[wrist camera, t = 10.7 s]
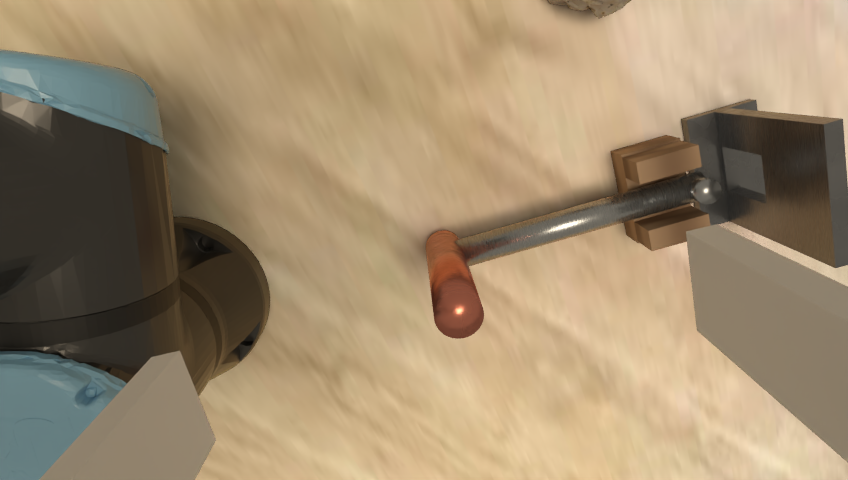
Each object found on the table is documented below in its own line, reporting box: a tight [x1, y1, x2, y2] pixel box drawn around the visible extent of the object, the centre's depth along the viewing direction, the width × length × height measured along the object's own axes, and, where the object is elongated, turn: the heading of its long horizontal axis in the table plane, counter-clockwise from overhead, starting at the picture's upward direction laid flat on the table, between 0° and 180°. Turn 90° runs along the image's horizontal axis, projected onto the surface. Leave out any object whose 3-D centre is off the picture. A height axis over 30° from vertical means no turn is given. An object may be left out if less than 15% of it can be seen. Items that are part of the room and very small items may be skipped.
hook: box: [426, 171, 722, 338], centre depth 43 cm, size 24×3×15 cm, turn 106°
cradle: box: [611, 135, 710, 251], centre depth 48 cm, size 5×8×6 cm, turn 16°
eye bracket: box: [681, 100, 848, 268], centre depth 43 cm, size 6×10×14 cm, turn 16°
